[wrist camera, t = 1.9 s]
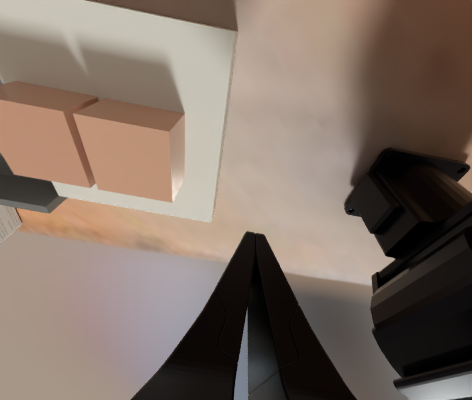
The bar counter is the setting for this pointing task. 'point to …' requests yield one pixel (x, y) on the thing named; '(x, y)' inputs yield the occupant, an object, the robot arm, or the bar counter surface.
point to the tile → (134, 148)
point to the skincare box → (8, 221)
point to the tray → (26, 191)
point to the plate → (130, 80)
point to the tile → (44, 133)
